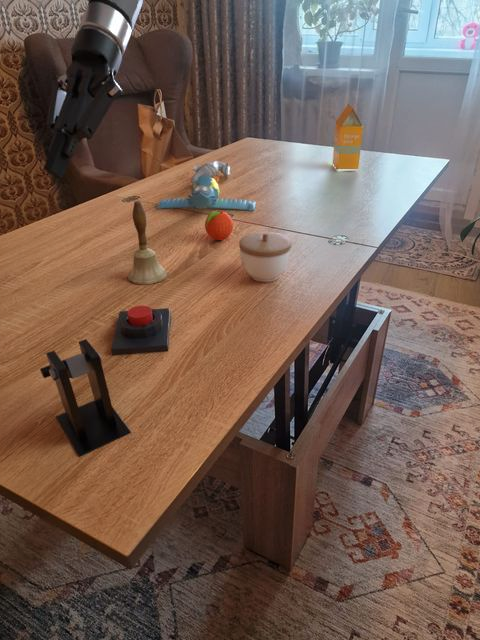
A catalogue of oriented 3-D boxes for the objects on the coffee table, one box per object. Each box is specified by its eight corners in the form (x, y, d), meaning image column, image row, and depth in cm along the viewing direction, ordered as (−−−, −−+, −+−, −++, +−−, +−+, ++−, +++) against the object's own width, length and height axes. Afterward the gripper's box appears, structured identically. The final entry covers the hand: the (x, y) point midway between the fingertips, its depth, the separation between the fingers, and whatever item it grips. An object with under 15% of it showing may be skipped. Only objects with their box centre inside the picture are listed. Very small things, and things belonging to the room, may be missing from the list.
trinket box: (275, 291, 97) (276, 248, 92) (230, 280, 101) (228, 237, 96) (298, 271, 105) (300, 229, 99) (255, 260, 109) (255, 220, 103)
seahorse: (220, 187, 150) (236, 161, 164) (185, 173, 149) (204, 148, 163) (216, 201, 153) (232, 175, 168) (182, 187, 153) (201, 162, 167)
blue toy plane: (256, 169, 138) (252, 186, 126) (257, 199, 144) (252, 218, 132) (161, 168, 140) (147, 184, 128) (164, 197, 145) (152, 216, 133)
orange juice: (353, 164, 175) (359, 103, 164) (358, 171, 168) (365, 108, 156) (331, 165, 175) (336, 104, 163) (336, 172, 168) (341, 108, 156)
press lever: (44, 381, 66) (37, 365, 66) (87, 365, 69) (81, 349, 69) (56, 385, 57) (48, 366, 56) (105, 366, 59) (98, 348, 59)
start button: (127, 327, 80) (125, 318, 79) (130, 314, 83) (128, 306, 82) (152, 325, 80) (150, 316, 79) (153, 313, 83) (152, 304, 82)
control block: (113, 360, 78) (108, 340, 76) (121, 321, 88) (117, 302, 86) (169, 356, 79) (166, 336, 77) (171, 318, 89) (168, 299, 87)
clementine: (218, 248, 115) (216, 219, 111) (197, 241, 118) (194, 213, 114) (239, 237, 120) (238, 209, 116) (218, 231, 123) (217, 204, 119)
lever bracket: (57, 422, 67) (31, 347, 59) (106, 402, 70) (87, 328, 63) (81, 462, 61) (55, 384, 53) (132, 438, 64) (115, 361, 57)
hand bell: (141, 265, 107) (129, 193, 98) (174, 270, 105) (165, 197, 96) (120, 281, 101) (105, 206, 92) (155, 287, 99) (143, 211, 89)
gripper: (145, 63, 81) (100, 190, 78) (83, 60, 85) (38, 181, 82) (120, 26, 74) (70, 165, 71) (54, 24, 78) (4, 156, 75)
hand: (53, 173), depth 77 cm, fingers closed
